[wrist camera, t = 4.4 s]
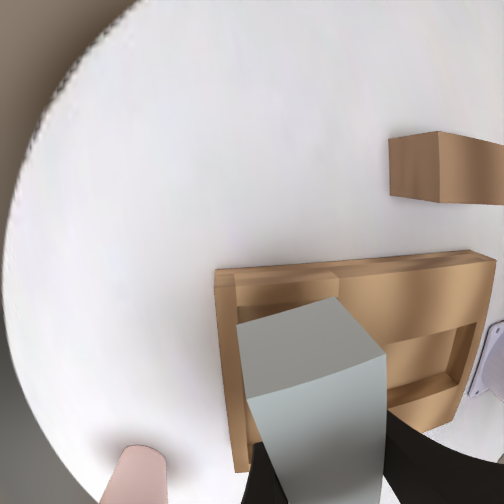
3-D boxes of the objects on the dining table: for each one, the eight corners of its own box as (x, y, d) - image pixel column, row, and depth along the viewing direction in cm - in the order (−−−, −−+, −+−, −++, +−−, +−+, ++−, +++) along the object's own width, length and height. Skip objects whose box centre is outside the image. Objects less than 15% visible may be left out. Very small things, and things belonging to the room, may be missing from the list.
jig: (469, 249, 19) (496, 259, 16) (435, 401, 22) (451, 420, 19) (214, 269, 17) (214, 288, 14) (232, 444, 20) (235, 472, 18)
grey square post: (334, 296, 11) (386, 353, 7) (353, 456, 13) (378, 510, 10) (236, 324, 11) (246, 399, 7) (288, 476, 13) (303, 534, 9)
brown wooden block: (466, 150, 17) (517, 149, 12) (467, 197, 18) (517, 205, 13) (387, 139, 17) (437, 131, 12) (389, 195, 17) (439, 202, 13)
